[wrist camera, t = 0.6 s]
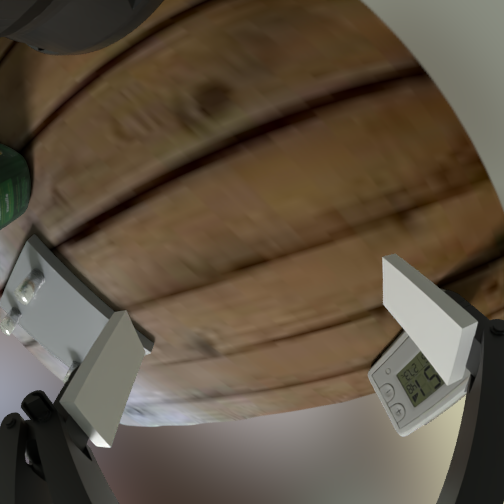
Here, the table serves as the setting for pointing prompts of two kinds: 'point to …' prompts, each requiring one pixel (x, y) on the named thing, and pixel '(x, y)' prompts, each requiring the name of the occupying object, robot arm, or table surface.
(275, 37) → the table surface
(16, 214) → the coffee jar
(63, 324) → the base plate
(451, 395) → the digital clock
